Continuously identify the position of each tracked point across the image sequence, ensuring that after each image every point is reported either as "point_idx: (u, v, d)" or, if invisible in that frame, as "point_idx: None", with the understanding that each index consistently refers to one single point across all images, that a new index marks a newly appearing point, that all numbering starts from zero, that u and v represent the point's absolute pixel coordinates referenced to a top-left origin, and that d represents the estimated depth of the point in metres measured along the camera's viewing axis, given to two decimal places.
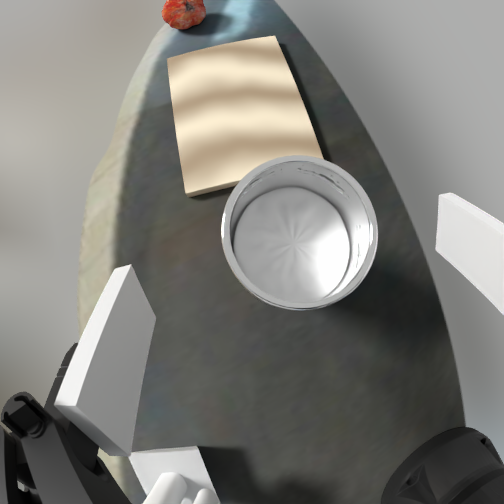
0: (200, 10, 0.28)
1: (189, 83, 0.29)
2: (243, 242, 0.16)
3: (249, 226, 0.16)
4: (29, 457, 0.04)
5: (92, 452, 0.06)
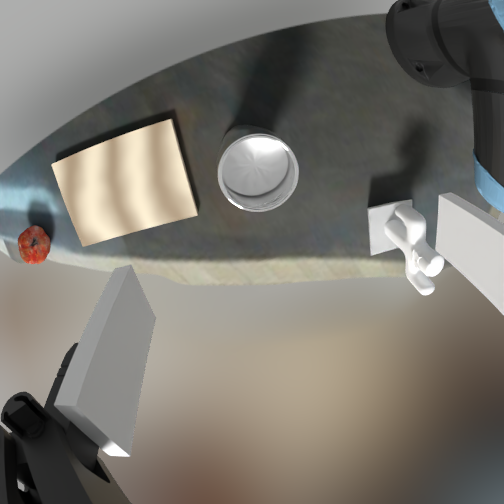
0: (34, 231, 0.36)
1: (106, 224, 0.39)
2: (252, 191, 0.29)
3: (243, 188, 0.28)
4: (29, 457, 0.04)
5: (92, 452, 0.06)
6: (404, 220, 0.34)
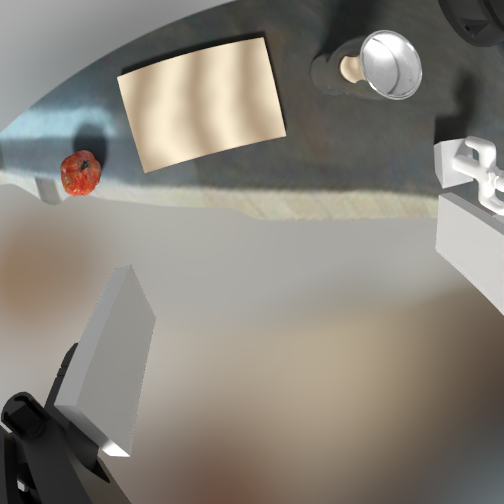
0: (84, 154, 0.31)
1: (179, 144, 0.34)
2: None
3: None
4: (29, 457, 0.04)
5: (92, 452, 0.06)
6: (477, 146, 0.30)
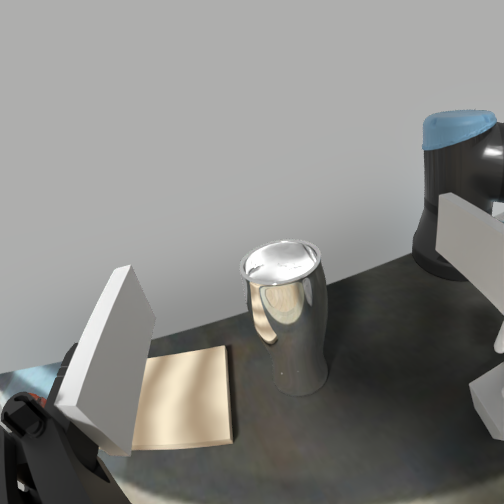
0: (45, 399, 0.29)
1: None
2: None
3: None
4: (29, 457, 0.04)
5: (92, 452, 0.06)
6: None
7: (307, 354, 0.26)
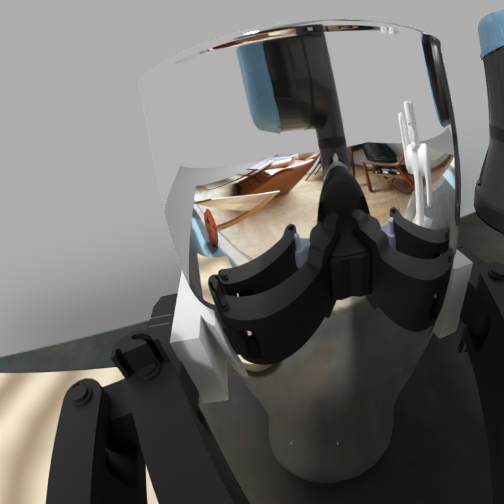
0: None
1: None
2: None
3: None
4: (134, 400, 0.06)
5: None
6: None
7: (379, 406, 0.07)
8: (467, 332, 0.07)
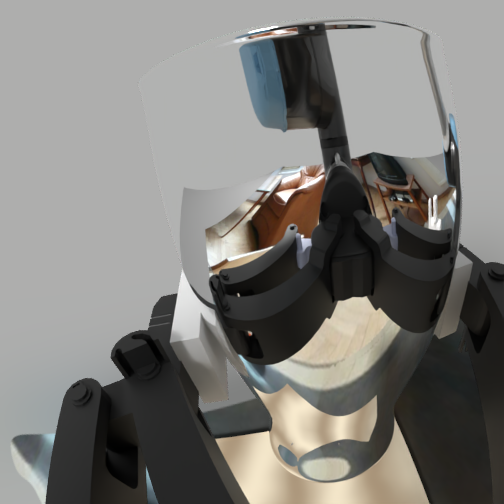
0: None
1: None
2: None
3: None
4: (134, 400, 0.06)
5: None
6: None
7: (381, 406, 0.07)
8: (467, 332, 0.07)
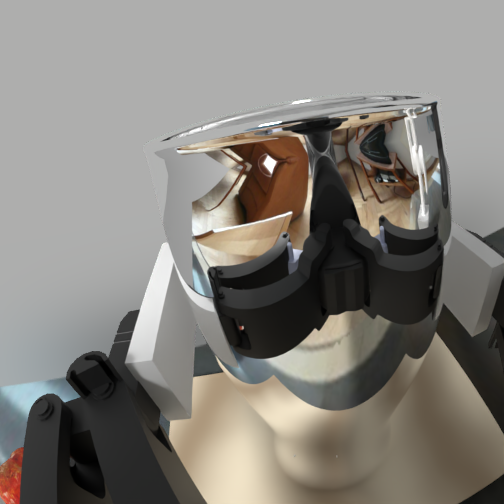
0: None
1: None
2: None
3: None
4: (92, 419, 0.05)
5: (157, 419, 0.07)
6: None
7: (373, 426, 0.07)
8: (498, 328, 0.07)
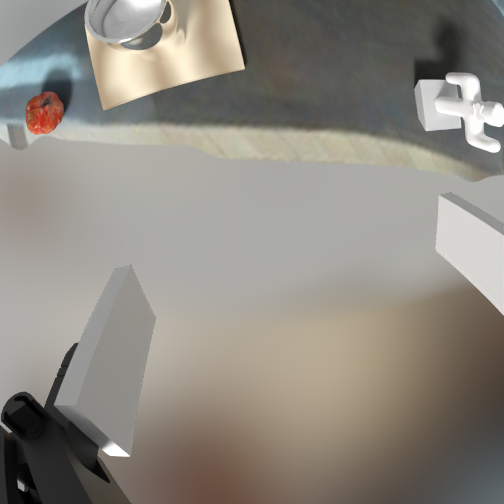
0: (48, 93, 0.27)
1: (137, 80, 0.30)
2: None
3: None
4: (29, 457, 0.04)
5: (92, 452, 0.06)
6: (458, 79, 0.25)
7: (159, 50, 0.24)
8: None
